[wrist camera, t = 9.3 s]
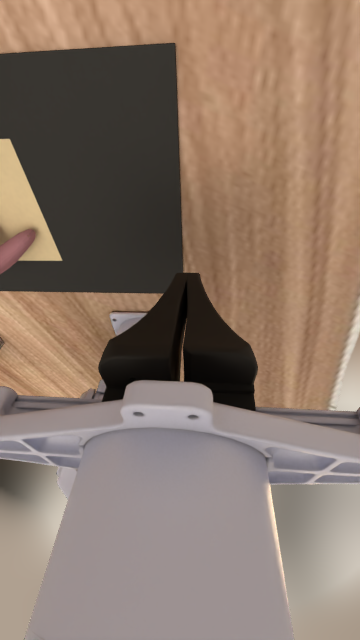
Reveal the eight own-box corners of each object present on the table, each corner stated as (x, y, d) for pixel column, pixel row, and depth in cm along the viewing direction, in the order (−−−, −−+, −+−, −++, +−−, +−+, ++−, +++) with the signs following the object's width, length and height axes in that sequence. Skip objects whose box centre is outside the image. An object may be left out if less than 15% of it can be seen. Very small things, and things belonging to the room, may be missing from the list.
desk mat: (183, 292, 27) (183, 293, 26) (-39, 288, 29) (-40, 290, 28) (175, 43, 14) (174, 43, 14) (-226, 68, 16) (-231, 68, 16)
